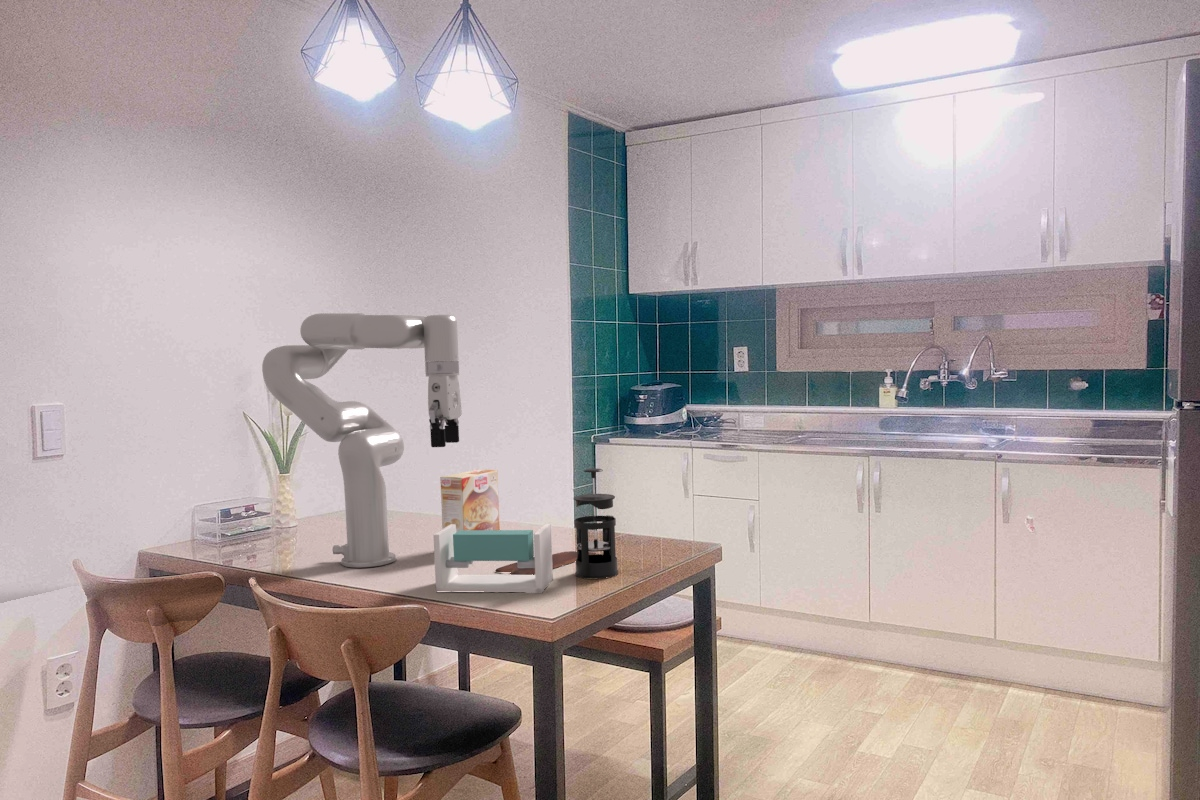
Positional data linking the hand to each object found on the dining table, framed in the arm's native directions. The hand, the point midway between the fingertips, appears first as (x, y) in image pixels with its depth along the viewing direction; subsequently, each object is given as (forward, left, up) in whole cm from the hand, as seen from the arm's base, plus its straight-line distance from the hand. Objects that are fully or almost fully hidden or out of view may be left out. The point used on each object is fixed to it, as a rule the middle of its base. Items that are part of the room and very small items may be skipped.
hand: (445, 444), depth 205 cm
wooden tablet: (+22, +4, -29) cm, 37 cm away
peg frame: (+15, -16, -28) cm, 36 cm away
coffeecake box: (0, +17, -29) cm, 33 cm away
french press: (+35, -5, -28) cm, 45 cm away
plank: (+15, -16, -22) cm, 31 cm away
